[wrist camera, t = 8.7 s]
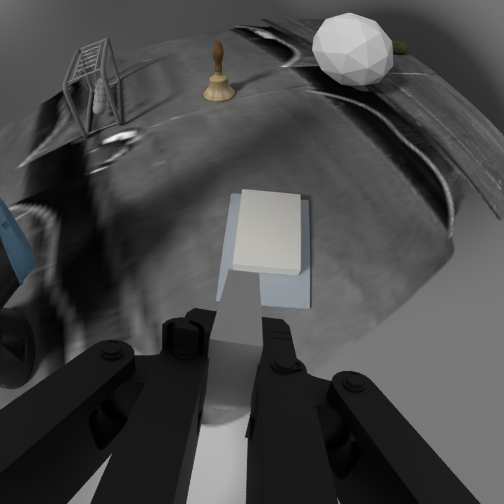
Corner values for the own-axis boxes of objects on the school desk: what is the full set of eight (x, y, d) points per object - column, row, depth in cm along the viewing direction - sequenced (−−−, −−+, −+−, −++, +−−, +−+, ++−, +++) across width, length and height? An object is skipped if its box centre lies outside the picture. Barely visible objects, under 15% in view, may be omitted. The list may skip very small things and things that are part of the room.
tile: (300, 269, 42) (300, 194, 49) (232, 264, 42) (242, 189, 49) (297, 276, 45) (298, 203, 51) (233, 270, 45) (242, 198, 51)
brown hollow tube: (395, 49, 98) (399, 38, 92) (406, 56, 96) (410, 45, 90) (376, 48, 95) (380, 36, 89) (388, 55, 92) (391, 43, 86)
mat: (309, 309, 43) (309, 308, 42) (216, 301, 43) (215, 300, 42) (308, 201, 52) (308, 200, 51) (231, 194, 52) (231, 193, 51)
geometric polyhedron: (325, 104, 81) (284, 45, 62) (346, 60, 82) (314, 6, 64) (394, 106, 65) (363, 34, 46) (407, 59, 66) (381, -4, 48)
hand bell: (205, 87, 69) (201, 37, 55) (235, 86, 69) (235, 36, 55) (202, 102, 65) (197, 48, 51) (235, 101, 66) (235, 47, 51)
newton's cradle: (90, 90, 71) (76, 47, 56) (120, 79, 73) (108, 35, 57) (85, 142, 59) (60, 87, 43) (122, 127, 61) (104, 68, 45)
